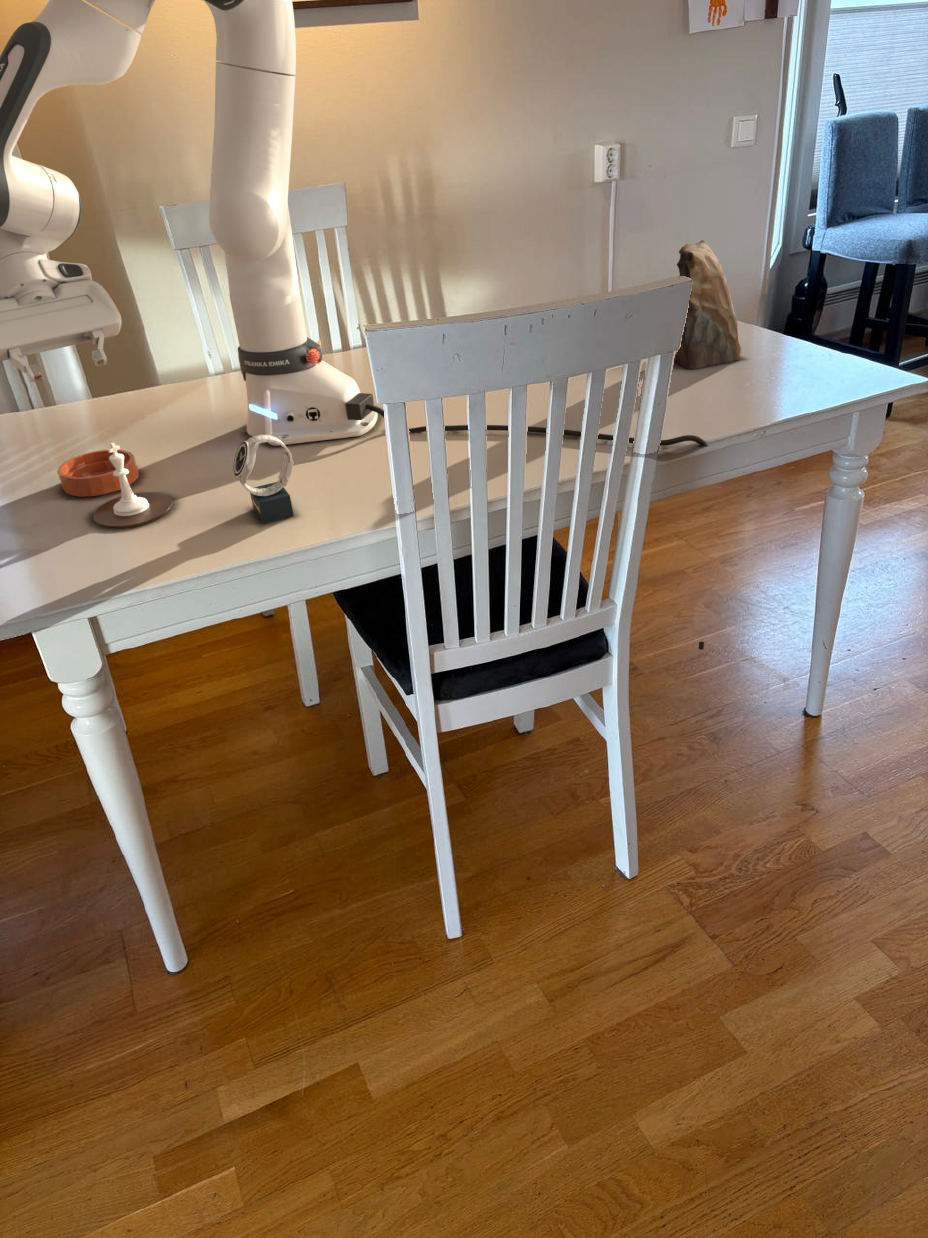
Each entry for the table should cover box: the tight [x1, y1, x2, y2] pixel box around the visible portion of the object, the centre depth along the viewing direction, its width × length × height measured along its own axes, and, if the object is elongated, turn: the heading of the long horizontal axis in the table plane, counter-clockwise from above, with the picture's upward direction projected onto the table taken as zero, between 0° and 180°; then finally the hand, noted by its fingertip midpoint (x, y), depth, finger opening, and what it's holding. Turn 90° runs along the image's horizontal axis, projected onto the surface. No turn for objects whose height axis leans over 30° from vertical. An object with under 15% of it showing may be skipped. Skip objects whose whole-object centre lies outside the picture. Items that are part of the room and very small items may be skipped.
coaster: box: [92, 491, 174, 530], centre depth 130 cm, size 11×11×1 cm
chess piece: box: [107, 442, 149, 516], centre depth 127 cm, size 5×5×10 cm
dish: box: [56, 449, 140, 497], centre depth 138 cm, size 11×11×3 cm
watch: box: [232, 435, 295, 524], centre depth 123 cm, size 6×8×11 cm
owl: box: [674, 239, 743, 370], centre depth 166 cm, size 13×13×20 cm
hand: (69, 370), depth 129 cm, fingers open, 8 cm apart
